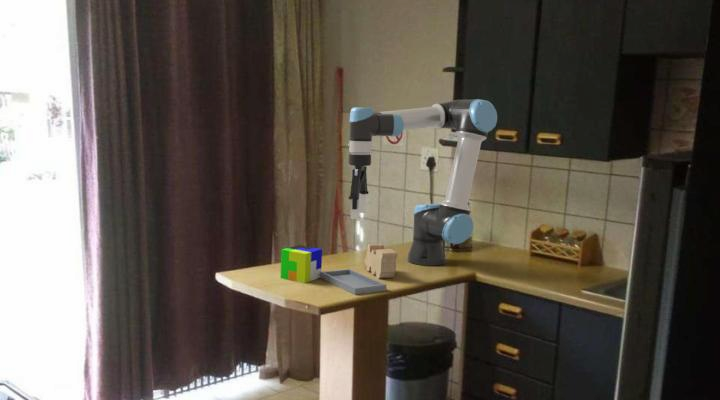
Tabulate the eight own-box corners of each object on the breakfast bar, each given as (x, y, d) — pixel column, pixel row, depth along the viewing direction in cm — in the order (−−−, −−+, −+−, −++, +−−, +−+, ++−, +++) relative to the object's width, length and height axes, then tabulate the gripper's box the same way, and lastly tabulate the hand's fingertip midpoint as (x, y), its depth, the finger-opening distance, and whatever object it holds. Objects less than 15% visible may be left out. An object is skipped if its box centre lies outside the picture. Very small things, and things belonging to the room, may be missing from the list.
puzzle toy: (321, 277, 221) (322, 249, 219) (304, 283, 212) (305, 253, 211) (297, 272, 226) (298, 245, 224) (280, 278, 217) (281, 249, 216)
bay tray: (320, 277, 220) (320, 271, 220) (349, 274, 226) (349, 268, 226) (354, 294, 201) (355, 288, 200) (386, 290, 207) (386, 284, 207)
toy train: (378, 268, 237) (379, 242, 235) (396, 280, 221) (397, 252, 219) (364, 269, 235) (365, 242, 233) (381, 281, 219) (382, 252, 218)
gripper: (355, 151, 227) (354, 209, 230) (341, 155, 203) (340, 221, 205) (376, 151, 226) (374, 210, 229) (365, 156, 201) (363, 222, 204)
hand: (358, 215), depth 217 cm, fingers open, 13 cm apart
